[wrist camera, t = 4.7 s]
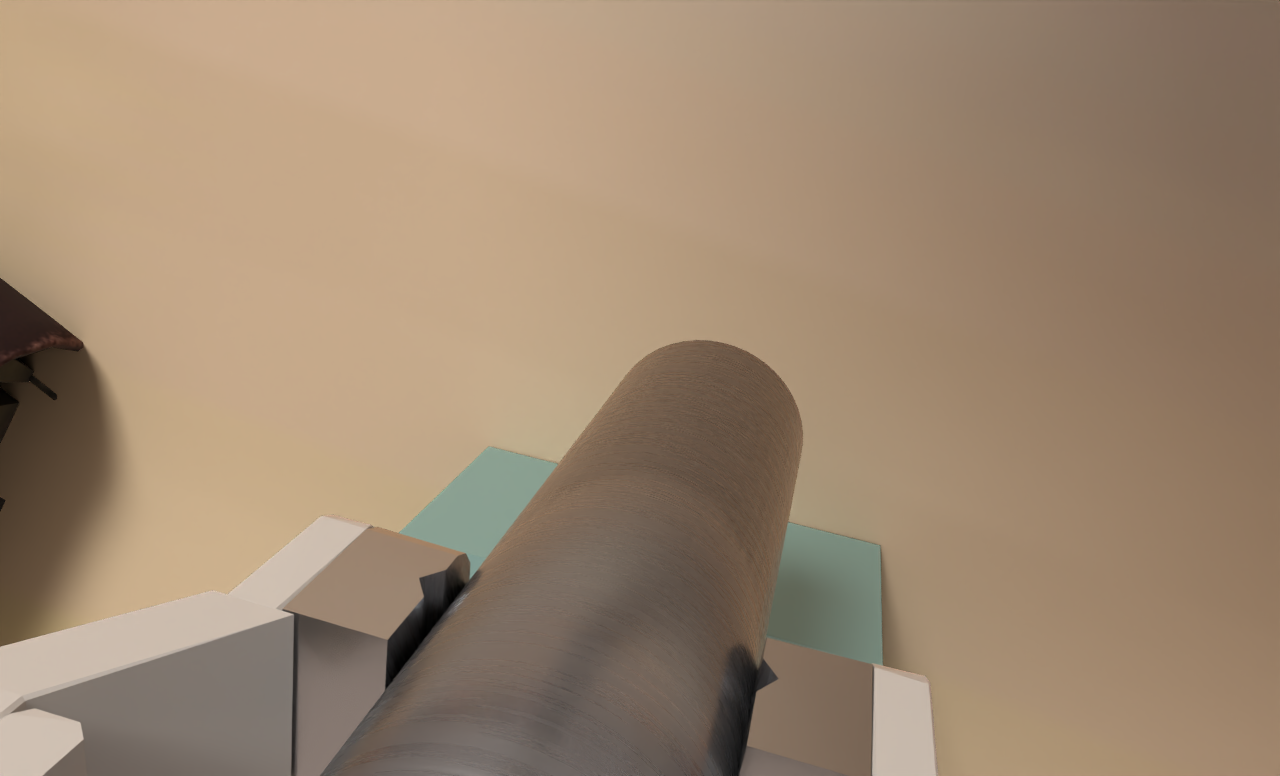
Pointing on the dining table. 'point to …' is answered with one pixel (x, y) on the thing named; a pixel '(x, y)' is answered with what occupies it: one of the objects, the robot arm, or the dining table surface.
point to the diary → (24, 346)
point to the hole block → (806, 584)
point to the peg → (614, 595)
